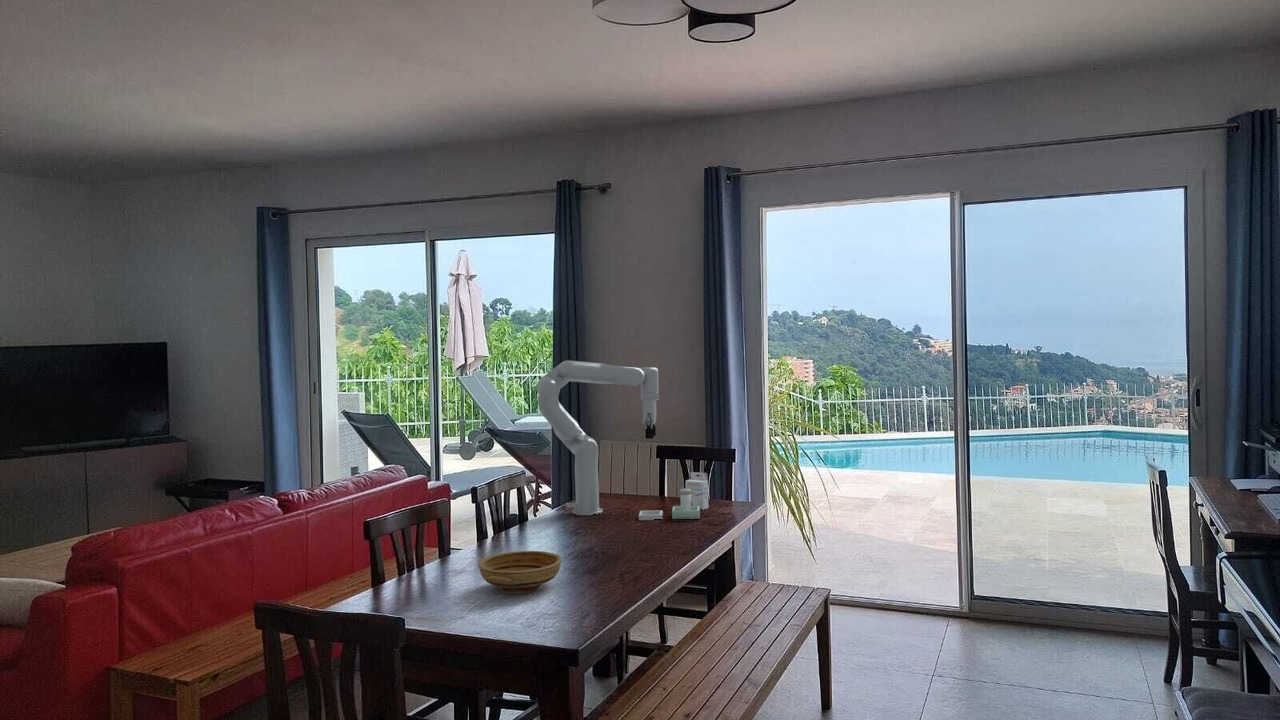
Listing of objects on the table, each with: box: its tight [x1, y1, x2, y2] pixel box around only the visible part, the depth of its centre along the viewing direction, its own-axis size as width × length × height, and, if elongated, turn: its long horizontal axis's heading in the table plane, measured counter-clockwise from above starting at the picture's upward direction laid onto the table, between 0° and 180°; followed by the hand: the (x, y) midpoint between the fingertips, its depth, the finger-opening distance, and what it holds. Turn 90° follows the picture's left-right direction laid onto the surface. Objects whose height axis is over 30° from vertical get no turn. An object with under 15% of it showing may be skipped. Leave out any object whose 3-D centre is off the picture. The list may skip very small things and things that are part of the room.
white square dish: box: [638, 509, 664, 521], centre depth 350 cm, size 9×9×2 cm
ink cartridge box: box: [684, 471, 709, 511], centre depth 366 cm, size 9×5×15 cm, turn 58°
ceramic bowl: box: [477, 550, 563, 594], centre depth 256 cm, size 30×24×8 cm
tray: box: [671, 505, 701, 519], centre depth 349 cm, size 11×11×4 cm
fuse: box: [679, 488, 691, 511], centre depth 349 cm, size 4×4×10 cm
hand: (650, 437), depth 371 cm, fingers open, 9 cm apart
